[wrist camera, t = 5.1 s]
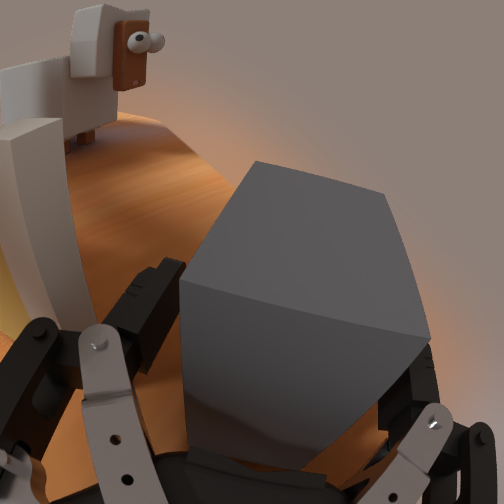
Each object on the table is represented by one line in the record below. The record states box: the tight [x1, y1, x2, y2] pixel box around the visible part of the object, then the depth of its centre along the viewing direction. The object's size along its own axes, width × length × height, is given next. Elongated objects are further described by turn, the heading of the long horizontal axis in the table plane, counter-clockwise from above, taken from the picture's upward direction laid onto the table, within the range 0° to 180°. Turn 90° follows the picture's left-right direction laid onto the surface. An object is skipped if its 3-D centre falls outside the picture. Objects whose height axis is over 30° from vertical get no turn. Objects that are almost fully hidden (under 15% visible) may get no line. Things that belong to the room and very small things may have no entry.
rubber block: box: [179, 161, 431, 471], centre depth 11 cm, size 5×7×10 cm
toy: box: [0, 4, 165, 154], centre depth 32 cm, size 11×28×20 cm, turn 72°
